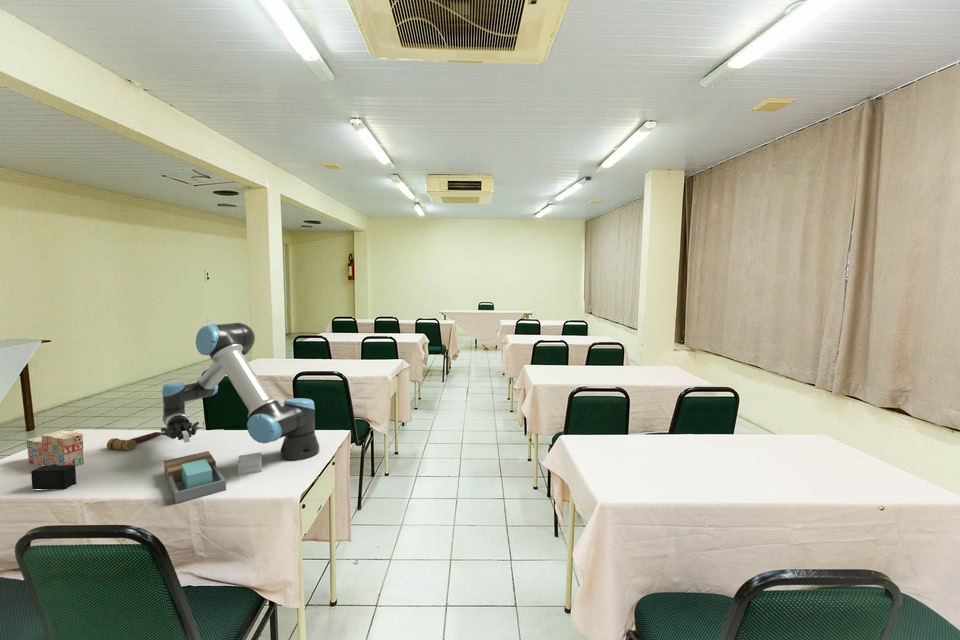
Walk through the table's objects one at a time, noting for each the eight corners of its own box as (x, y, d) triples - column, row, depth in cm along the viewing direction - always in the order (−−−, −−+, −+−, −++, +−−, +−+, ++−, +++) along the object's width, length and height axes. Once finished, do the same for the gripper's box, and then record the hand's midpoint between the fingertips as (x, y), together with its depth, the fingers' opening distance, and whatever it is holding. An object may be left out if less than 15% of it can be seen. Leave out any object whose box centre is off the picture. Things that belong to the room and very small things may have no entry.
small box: (261, 464, 162) (261, 451, 162) (261, 472, 155) (261, 459, 155) (239, 468, 159) (238, 455, 158) (237, 476, 152) (237, 462, 151)
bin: (169, 486, 143) (168, 476, 143) (216, 474, 153) (215, 465, 152) (175, 504, 132) (175, 493, 131) (226, 490, 141) (225, 480, 141)
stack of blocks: (27, 463, 160) (25, 432, 160) (48, 456, 166) (46, 427, 166) (64, 470, 154) (62, 438, 154) (84, 464, 160) (82, 433, 160)
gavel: (153, 427, 194) (171, 428, 193) (153, 436, 194) (171, 438, 193) (106, 440, 174) (125, 441, 172) (106, 450, 174) (125, 452, 172)
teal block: (181, 464, 144) (187, 475, 135) (205, 458, 149) (212, 469, 140) (182, 483, 144) (187, 496, 136) (205, 477, 149) (212, 489, 140)
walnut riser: (164, 473, 153) (164, 460, 152) (209, 463, 162) (208, 451, 162) (169, 486, 143) (168, 472, 143) (216, 474, 153) (215, 461, 152)
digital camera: (79, 482, 145) (78, 463, 145) (65, 489, 140) (64, 469, 139) (47, 483, 144) (46, 463, 144) (32, 490, 139) (31, 470, 138)
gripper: (196, 429, 177) (207, 444, 160) (158, 436, 168) (165, 453, 151) (196, 412, 176) (207, 425, 159) (157, 418, 168) (164, 433, 150)
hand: (187, 438), depth 155 cm, fingers closed
